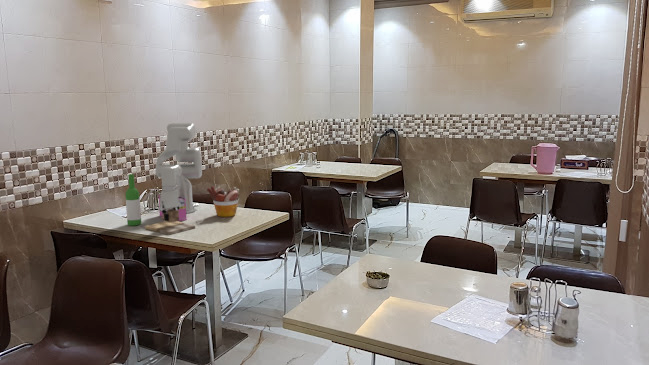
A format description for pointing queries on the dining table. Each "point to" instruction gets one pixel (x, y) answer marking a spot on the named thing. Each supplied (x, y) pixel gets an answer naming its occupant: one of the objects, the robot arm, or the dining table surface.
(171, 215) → the walnut block
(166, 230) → the board
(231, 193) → the bucket of meat
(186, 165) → the robot arm
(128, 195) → the wine bottle
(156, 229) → the beige segmented panel
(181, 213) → the gum box
